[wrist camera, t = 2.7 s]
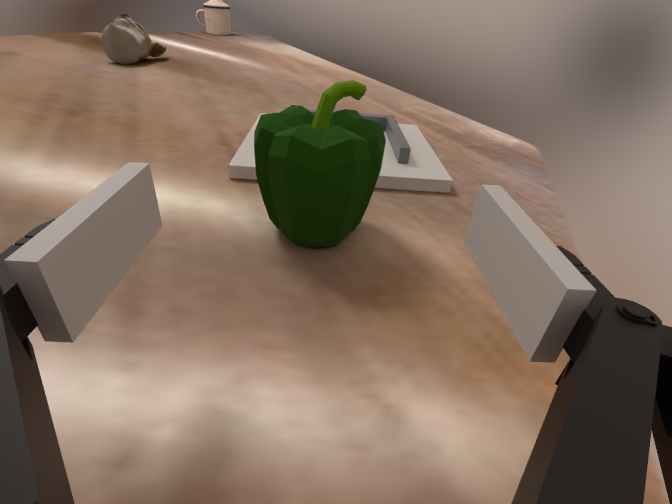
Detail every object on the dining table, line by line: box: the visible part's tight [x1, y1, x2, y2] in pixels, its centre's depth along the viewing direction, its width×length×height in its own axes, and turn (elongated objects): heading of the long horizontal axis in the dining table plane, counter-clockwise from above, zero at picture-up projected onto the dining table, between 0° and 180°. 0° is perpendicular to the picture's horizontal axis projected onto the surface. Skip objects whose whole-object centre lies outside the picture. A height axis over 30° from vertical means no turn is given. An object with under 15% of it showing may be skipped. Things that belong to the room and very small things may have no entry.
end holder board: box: [229, 108, 453, 193], centre depth 41 cm, size 20×18×3 cm
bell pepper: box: [254, 80, 386, 248], centre depth 25 cm, size 8×8×10 cm
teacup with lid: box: [196, 0, 231, 36], centre depth 135 cm, size 12×9×12 cm
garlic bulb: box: [100, 14, 166, 64], centre depth 77 cm, size 11×9×15 cm
